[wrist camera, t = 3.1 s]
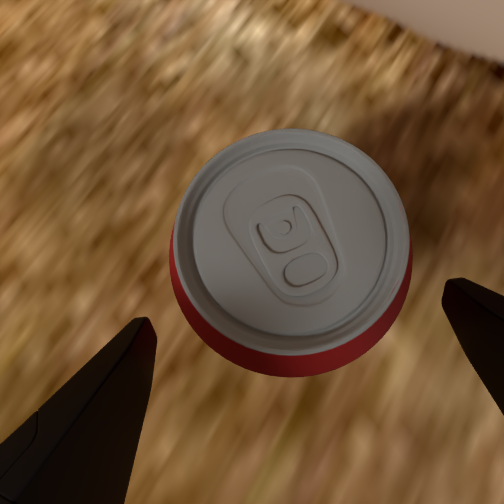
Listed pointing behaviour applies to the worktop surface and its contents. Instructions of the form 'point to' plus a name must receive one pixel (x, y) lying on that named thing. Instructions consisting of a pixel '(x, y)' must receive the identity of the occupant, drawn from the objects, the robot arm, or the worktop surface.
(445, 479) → the worktop surface
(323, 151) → the beverage can
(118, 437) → the robot arm
